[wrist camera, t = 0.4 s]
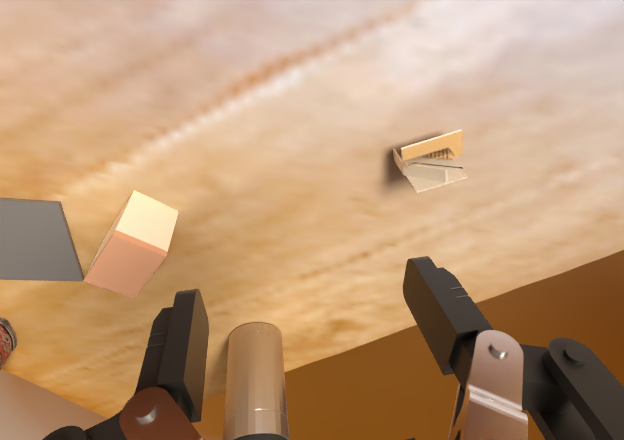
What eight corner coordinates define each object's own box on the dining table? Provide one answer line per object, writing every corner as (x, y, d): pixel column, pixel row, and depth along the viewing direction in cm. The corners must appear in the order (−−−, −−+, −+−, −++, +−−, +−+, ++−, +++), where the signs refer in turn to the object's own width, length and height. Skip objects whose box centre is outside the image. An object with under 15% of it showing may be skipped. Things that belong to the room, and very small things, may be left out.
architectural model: (389, 135, 41) (411, 167, 35) (447, 117, 41) (479, 146, 35) (393, 159, 43) (414, 193, 37) (448, 142, 43) (478, 174, 37)
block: (134, 189, 41) (112, 234, 34) (178, 211, 43) (166, 256, 37) (106, 233, 44) (82, 281, 38) (149, 250, 47) (133, 298, 40)
